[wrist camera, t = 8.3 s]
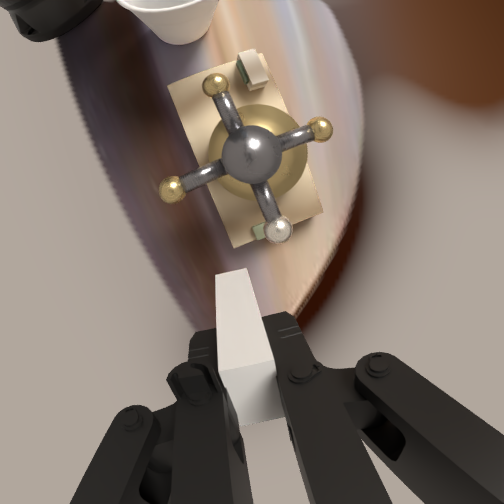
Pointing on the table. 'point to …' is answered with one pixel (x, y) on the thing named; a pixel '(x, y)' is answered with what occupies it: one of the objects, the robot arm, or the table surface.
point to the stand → (203, 124)
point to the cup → (174, 17)
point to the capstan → (252, 156)
